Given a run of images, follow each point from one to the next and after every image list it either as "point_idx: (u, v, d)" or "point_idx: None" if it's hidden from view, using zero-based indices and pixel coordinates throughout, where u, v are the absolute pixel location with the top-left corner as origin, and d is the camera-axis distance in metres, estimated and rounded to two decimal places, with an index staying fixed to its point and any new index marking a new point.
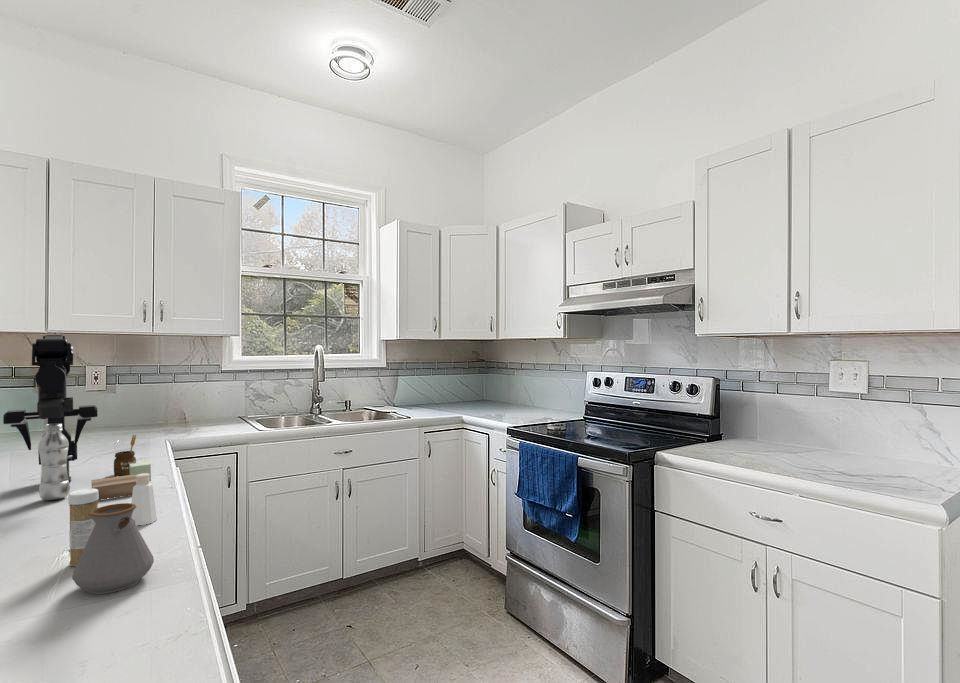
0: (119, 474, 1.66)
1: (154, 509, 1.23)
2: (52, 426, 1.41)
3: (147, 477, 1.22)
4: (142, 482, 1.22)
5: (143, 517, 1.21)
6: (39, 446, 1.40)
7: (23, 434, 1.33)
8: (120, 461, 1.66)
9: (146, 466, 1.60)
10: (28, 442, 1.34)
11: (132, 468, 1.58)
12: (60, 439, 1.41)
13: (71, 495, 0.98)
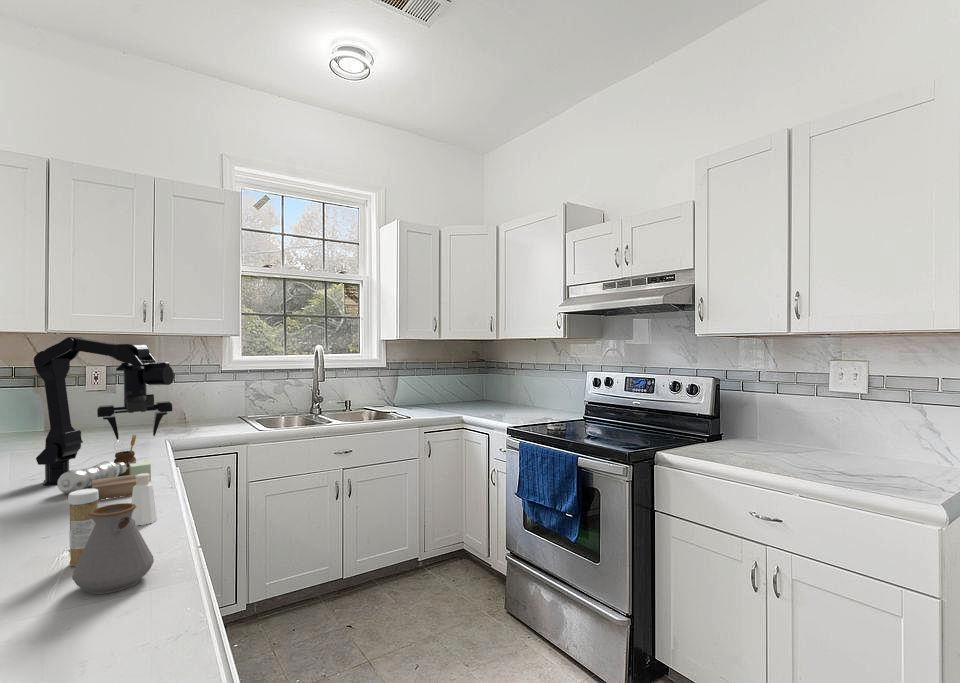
0: None
1: (154, 509, 1.23)
2: (123, 463, 1.64)
3: (147, 477, 1.22)
4: (142, 482, 1.22)
5: (143, 517, 1.21)
6: (103, 462, 1.60)
7: (112, 426, 1.56)
8: (120, 461, 1.66)
9: (146, 466, 1.60)
10: (116, 433, 1.56)
11: (132, 468, 1.58)
12: (118, 468, 1.61)
13: (71, 495, 0.98)
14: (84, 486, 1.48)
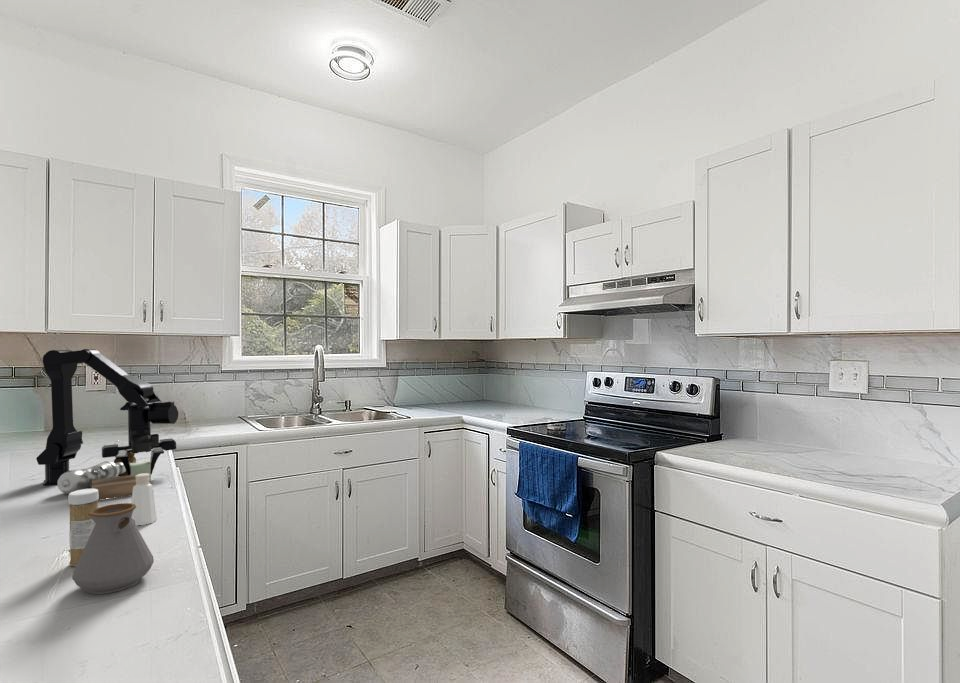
0: None
1: (154, 509, 1.23)
2: None
3: (147, 477, 1.22)
4: (142, 482, 1.22)
5: (143, 517, 1.21)
6: (103, 462, 1.60)
7: (125, 464, 1.58)
8: (120, 461, 1.66)
9: (146, 466, 1.60)
10: (128, 471, 1.59)
11: (132, 468, 1.58)
12: (118, 468, 1.61)
13: (71, 495, 0.98)
14: (84, 486, 1.48)
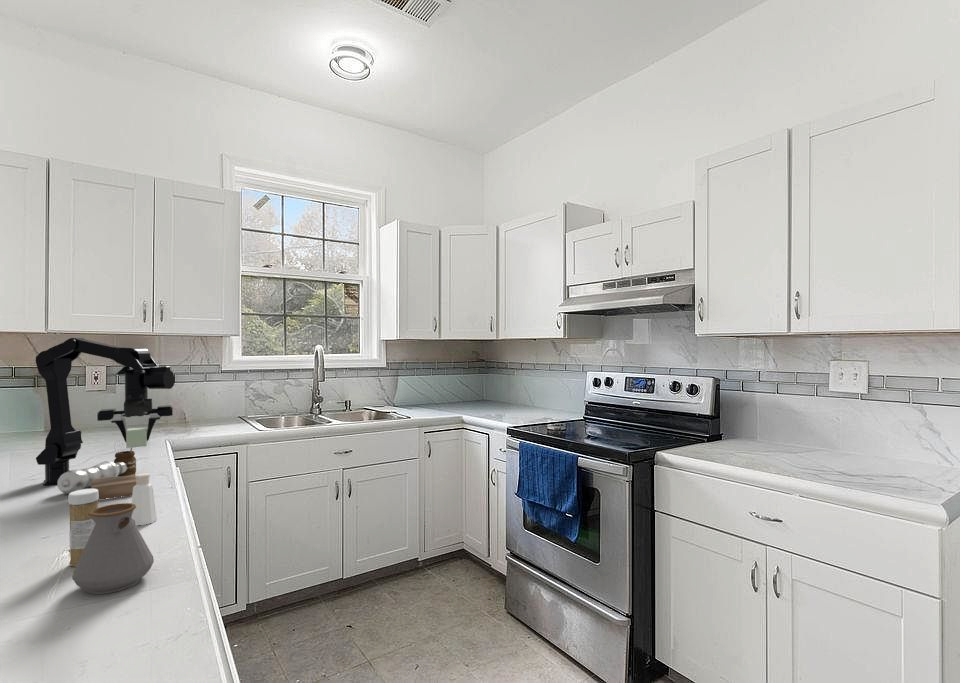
0: None
1: (154, 509, 1.23)
2: (123, 463, 1.64)
3: (147, 477, 1.22)
4: (142, 482, 1.22)
5: (143, 517, 1.21)
6: (103, 462, 1.60)
7: (121, 429, 1.57)
8: (120, 461, 1.66)
9: (142, 431, 1.58)
10: (125, 436, 1.57)
11: (127, 432, 1.56)
12: (118, 468, 1.61)
13: (71, 495, 0.98)
14: (84, 486, 1.48)
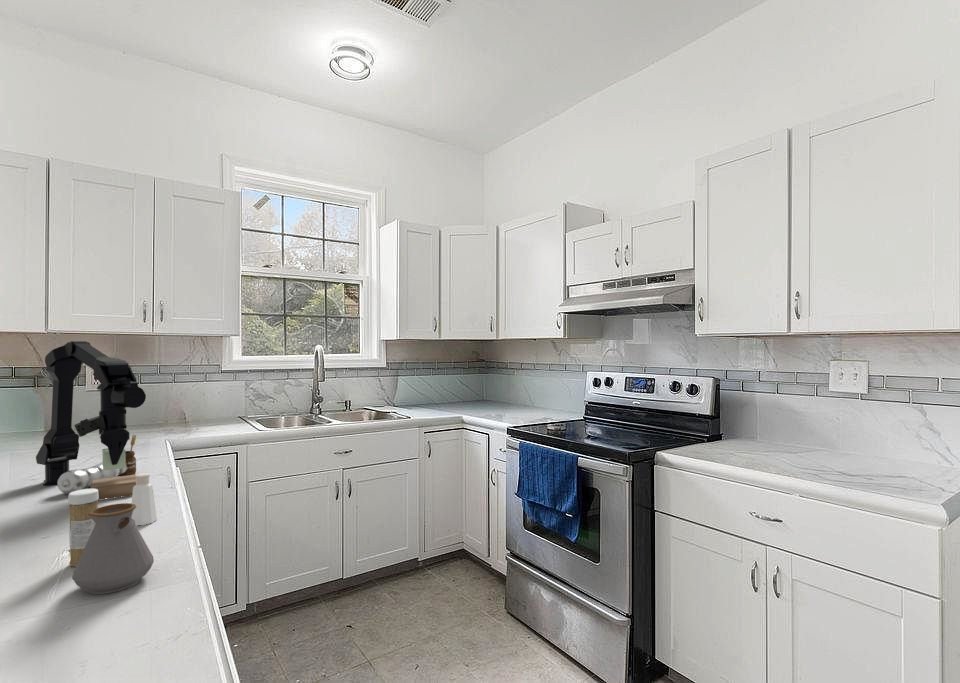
0: None
1: (154, 509, 1.23)
2: None
3: (147, 477, 1.22)
4: (142, 482, 1.22)
5: (143, 517, 1.21)
6: None
7: None
8: None
9: None
10: None
11: (102, 451, 1.47)
12: None
13: (71, 495, 0.98)
14: (84, 486, 1.48)
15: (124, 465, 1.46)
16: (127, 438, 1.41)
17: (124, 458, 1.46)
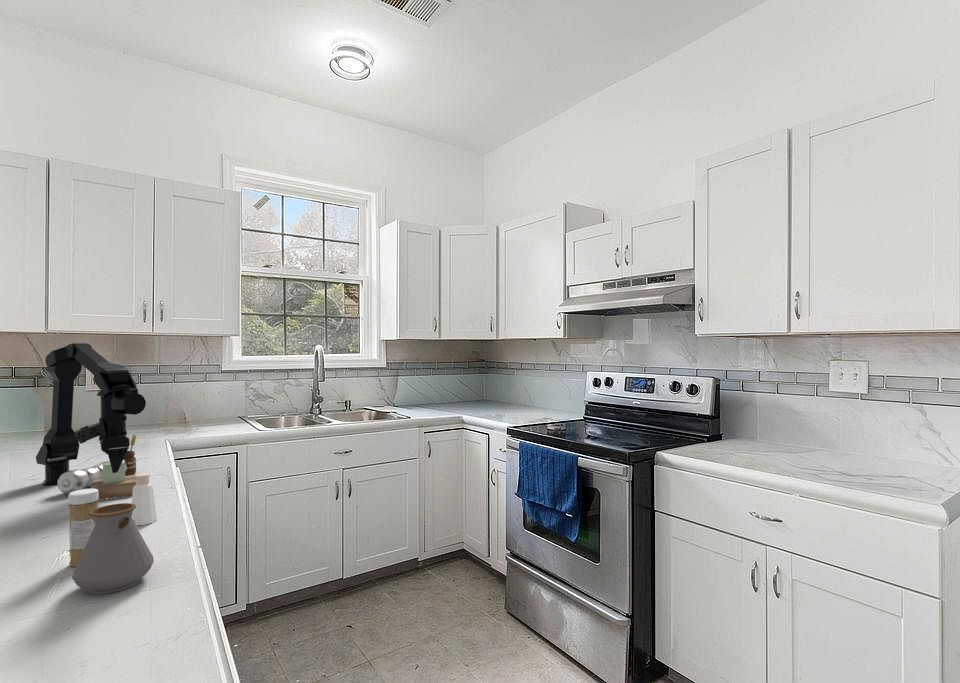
0: None
1: (154, 509, 1.23)
2: None
3: (147, 477, 1.22)
4: (142, 482, 1.22)
5: (143, 517, 1.21)
6: None
7: None
8: None
9: None
10: (109, 459, 1.50)
11: None
12: None
13: (71, 495, 0.98)
14: (84, 486, 1.48)
15: (124, 478, 1.46)
16: (127, 445, 1.41)
17: (124, 471, 1.46)
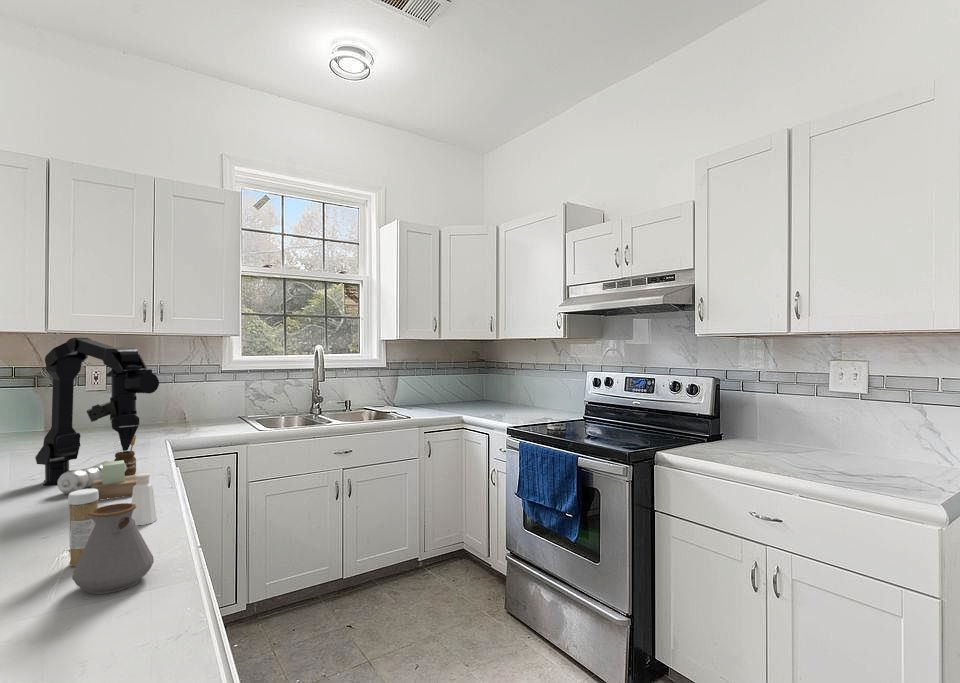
0: None
1: (154, 509, 1.23)
2: None
3: (147, 477, 1.22)
4: (142, 482, 1.22)
5: (143, 517, 1.21)
6: (103, 462, 1.60)
7: None
8: None
9: (102, 467, 1.44)
10: None
11: None
12: None
13: (71, 495, 0.98)
14: (84, 486, 1.48)
15: (123, 479, 1.46)
16: (137, 423, 1.44)
17: (123, 472, 1.46)
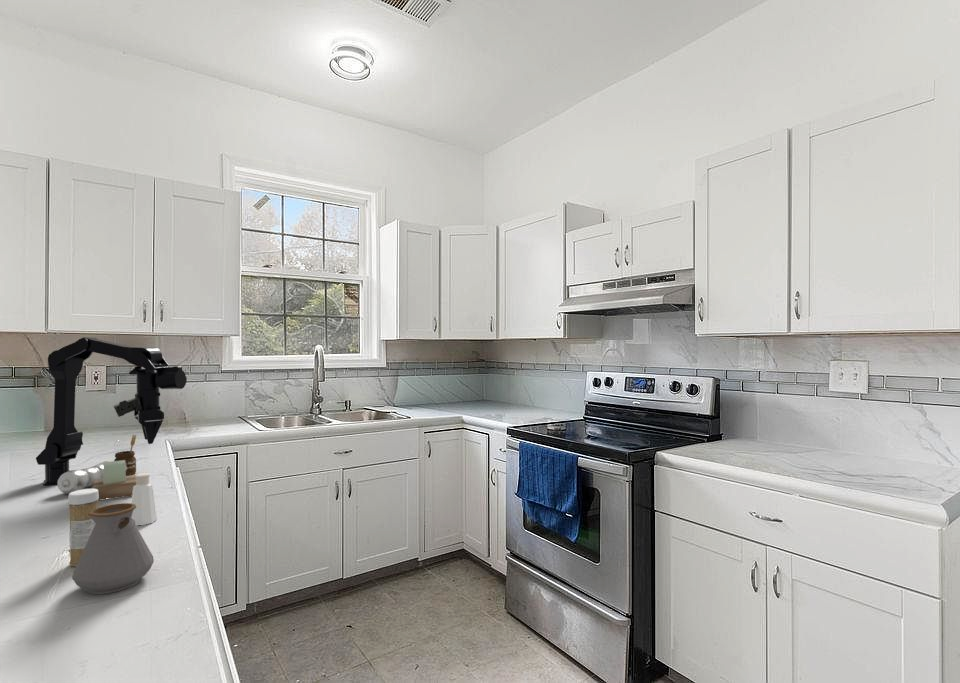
0: None
1: (154, 509, 1.23)
2: None
3: (147, 477, 1.22)
4: (142, 482, 1.22)
5: (143, 517, 1.21)
6: (103, 462, 1.60)
7: (141, 425, 1.63)
8: None
9: (103, 466, 1.44)
10: None
11: (103, 464, 1.47)
12: None
13: (71, 495, 0.98)
14: (84, 486, 1.48)
15: (124, 479, 1.46)
16: (162, 418, 1.53)
17: (124, 472, 1.46)
